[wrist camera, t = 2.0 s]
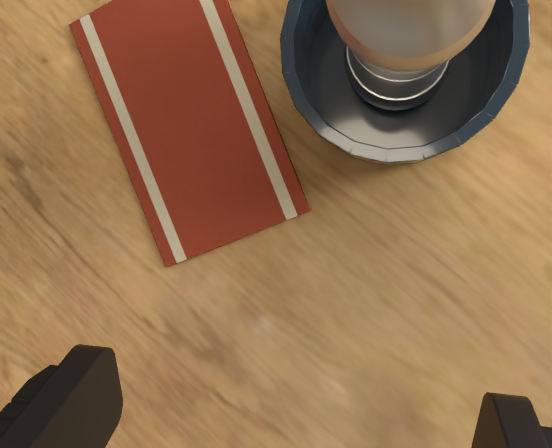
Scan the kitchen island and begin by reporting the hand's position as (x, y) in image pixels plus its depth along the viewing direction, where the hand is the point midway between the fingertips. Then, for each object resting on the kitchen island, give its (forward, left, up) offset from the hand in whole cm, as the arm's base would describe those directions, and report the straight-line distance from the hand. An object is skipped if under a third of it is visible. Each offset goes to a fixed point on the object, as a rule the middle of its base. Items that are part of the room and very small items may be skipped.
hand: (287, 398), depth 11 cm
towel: (-13, -8, -25) cm, 29 cm away
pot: (-10, +7, -25) cm, 28 cm away
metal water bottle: (-10, +7, -25) cm, 28 cm away
